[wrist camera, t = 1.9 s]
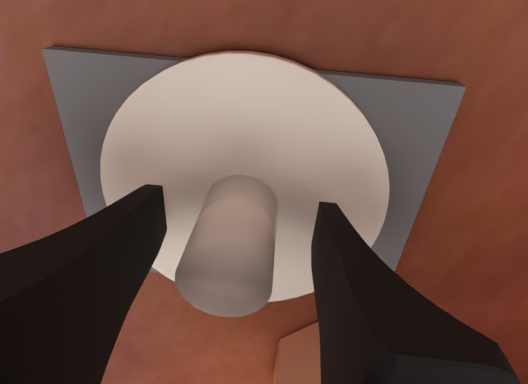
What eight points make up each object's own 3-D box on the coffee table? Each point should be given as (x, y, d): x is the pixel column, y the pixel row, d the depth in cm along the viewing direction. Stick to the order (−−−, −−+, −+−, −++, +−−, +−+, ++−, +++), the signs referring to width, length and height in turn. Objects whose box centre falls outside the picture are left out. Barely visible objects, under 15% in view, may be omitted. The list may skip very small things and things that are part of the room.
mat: (458, 82, 11) (466, 86, 11) (381, 287, 16) (384, 297, 16) (52, 45, 12) (41, 48, 11) (105, 258, 17) (99, 266, 16)
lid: (424, 66, 10) (507, 117, 6) (351, 300, 16) (370, 404, 12) (82, 36, 11) (-46, 66, 7) (131, 276, 17) (78, 371, 12)
